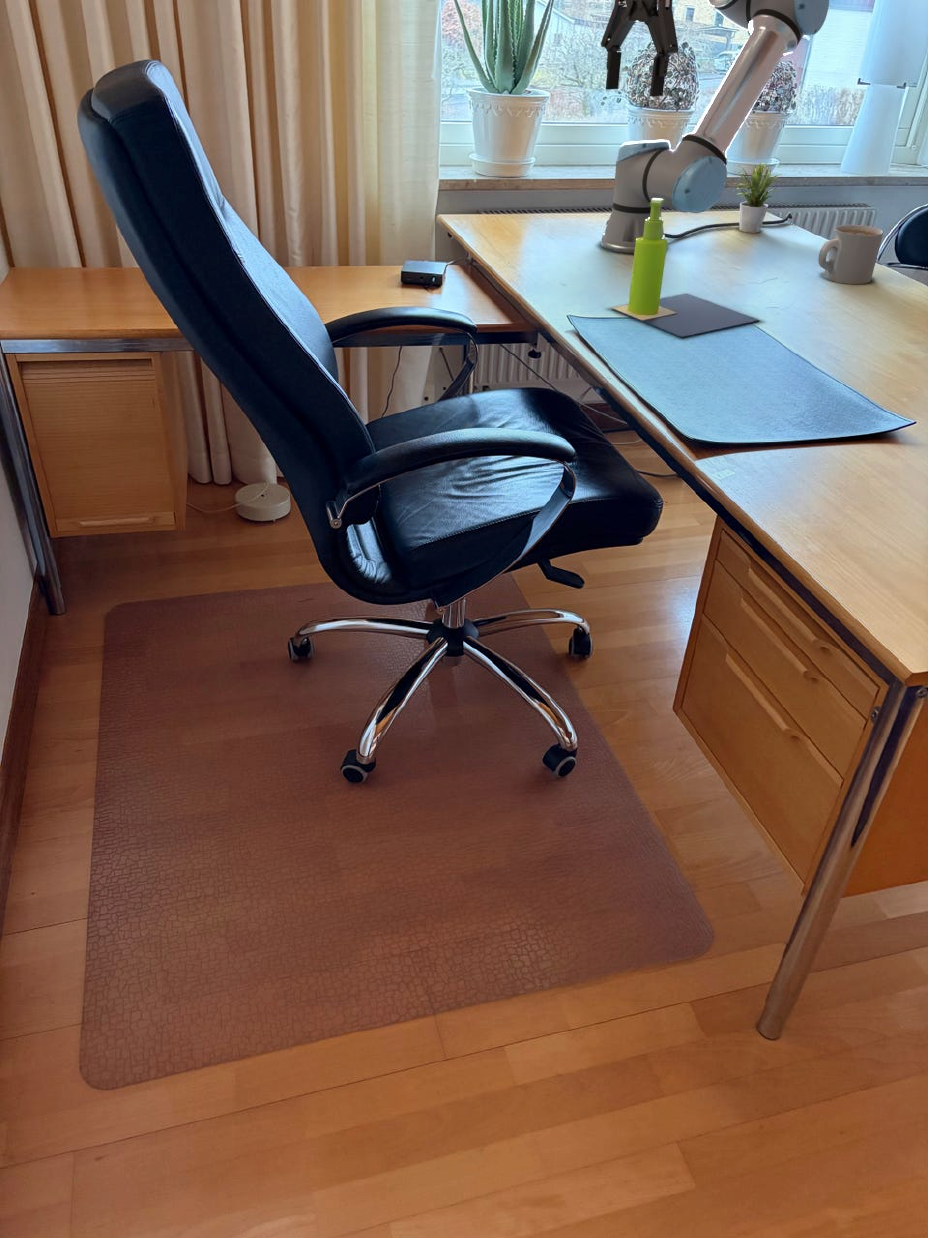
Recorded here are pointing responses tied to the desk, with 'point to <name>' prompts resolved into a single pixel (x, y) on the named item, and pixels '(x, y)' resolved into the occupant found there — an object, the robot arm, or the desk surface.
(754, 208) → the house plant
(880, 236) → the coffee mug
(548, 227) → the desk surface
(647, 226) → the soap dispenser
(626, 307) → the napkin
